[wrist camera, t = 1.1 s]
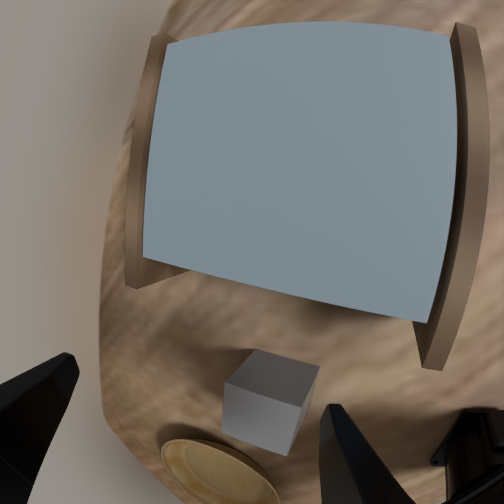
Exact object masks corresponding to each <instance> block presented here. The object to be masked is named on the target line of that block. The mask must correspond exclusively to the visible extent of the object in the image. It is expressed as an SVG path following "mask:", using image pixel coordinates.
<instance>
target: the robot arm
mask: <svg viewBox="0 0 504 504" xmlns="http://www.w3.org/2000/svg"><path fill="white" fill-rule="evenodd" d="M79 372H80V371H79V368H78V365H77V362H76V360H75V357H74V356H73V355H71V354H69V353H65V352H64V353H61V354H59V355H57V356H56V357H54V358H51V359H50V360H48V361H46V362H44V363H42V364H40V365H38V366H36V367H34V368H32V369H30V370H28V371H26V372H24V373H22V374H20V375H18V376H16V377H14V378H12V379H10V380H8V381H7V382H4V383H2V384H0V504H27V502H28V499H29V496H30V493H31V491H32V488H33V485H34V482H35V480H36V477H37V475H38V472H39V470H40V467H41V465H42V462H43V460H44V457H45V455H46V453H47V450H48V448H49V446H50V443H51V441H52V439H53V437H54V435H55V432H56V430H57V428H58V426H59V424H60V422H61V419H62V417H63V415H64V413H65V411H66V409H67V406H68V404H69V402H70V399H71V396H72V393H73V391H74V388H75V385H76V383H77V380H78V377H79ZM465 415H467V416H465ZM430 464H431V465H432V466H445V477H446V501H445V502H444V503H442V504H504V411H501V410H475V409H466V410H464V411H462V413H461V414H460V416H459V417H458V419H457V421H456V422H455V424H454V426H453V427H452V429H451V430H450V432H449V433H448V435H447V437H446V438H445V440H444V441H443V442H442V444H441V445H440V447H439V448H438V450H437V451H436V453H435V454H434V455H433V457H432V458H431V460H430ZM319 471H320V484H321V499H322V504H416V503H415V502H414V501H413V500H412V499H411V498H410V497H409V496H408V494H407V493H406V492H405V491H404V489H403V488H402V487H401V486H400V484H399V483H398V482H397V480H396V479H395V478H393V475H392V474H391V473H390V471H389V470H388V469H387V467H386V466H385V464H384V463H383V462H382V460H381V459H380V458H379V456H378V455H377V454H376V452H375V451H374V450H373V448H372V447H371V445H370V444H369V443H368V441H367V440H366V439H365V437H364V436H363V435H362V433H361V432H360V430H359V429H358V428H357V426H356V425H355V424H354V422H353V421H352V419H351V418H350V417H349V415H348V414H347V412H346V411H345V410H344V408H343V407H342V406H341V405H340V404H328V405H327V407H326V409H325V411H324V413H323V415H322V417H321V421H320V444H319Z"/></svg>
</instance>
